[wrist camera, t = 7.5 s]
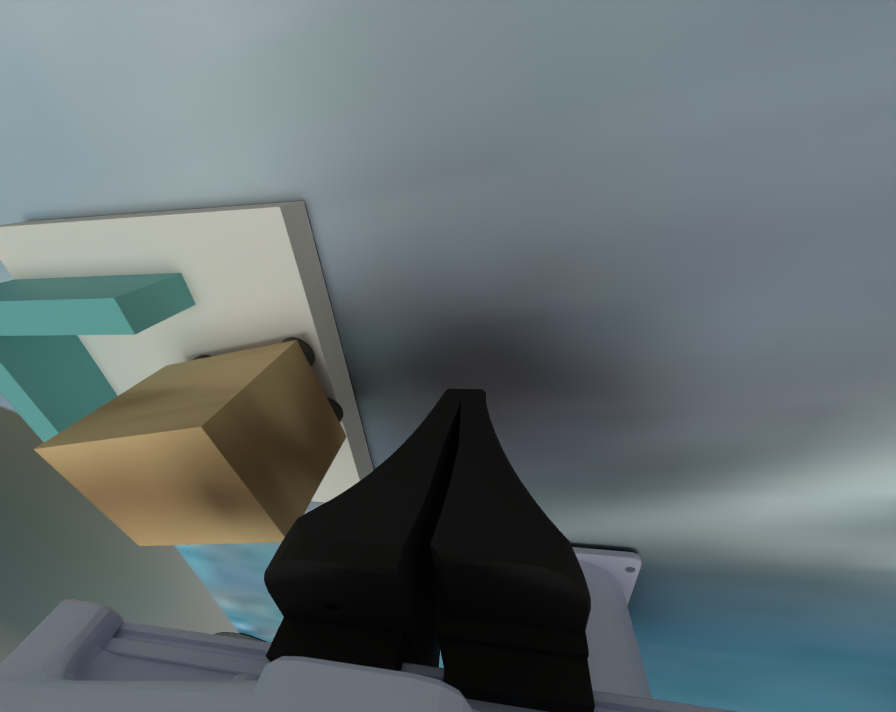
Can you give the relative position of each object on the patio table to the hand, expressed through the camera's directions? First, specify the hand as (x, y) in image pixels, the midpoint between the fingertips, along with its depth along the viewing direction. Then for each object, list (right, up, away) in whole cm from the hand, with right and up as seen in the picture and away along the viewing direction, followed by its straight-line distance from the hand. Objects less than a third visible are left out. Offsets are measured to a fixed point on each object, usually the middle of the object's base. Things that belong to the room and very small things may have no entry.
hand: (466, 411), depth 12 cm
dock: (-11, +1, +4) cm, 12 cm away
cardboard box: (-8, +1, +2) cm, 8 cm away
